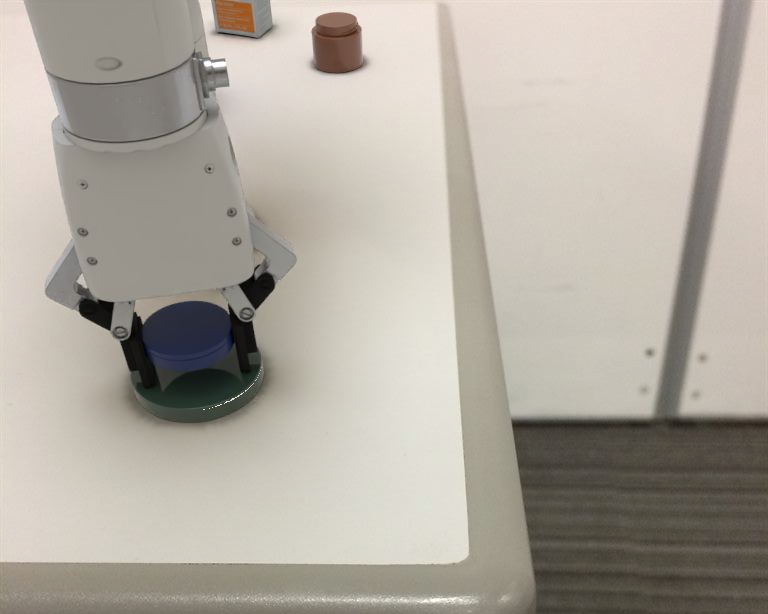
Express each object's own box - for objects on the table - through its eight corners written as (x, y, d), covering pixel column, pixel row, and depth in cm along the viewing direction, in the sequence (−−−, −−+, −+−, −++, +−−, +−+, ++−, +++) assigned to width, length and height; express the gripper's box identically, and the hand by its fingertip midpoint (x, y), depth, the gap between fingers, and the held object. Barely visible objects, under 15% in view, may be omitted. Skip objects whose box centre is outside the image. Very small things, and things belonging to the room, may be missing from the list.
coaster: (289, 381, 57) (287, 368, 56) (177, 442, 53) (173, 428, 52) (218, 323, 61) (215, 310, 60) (111, 375, 58) (106, 362, 57)
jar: (373, 63, 93) (371, 19, 90) (334, 77, 91) (332, 32, 87) (342, 49, 96) (339, 6, 92) (304, 62, 93) (300, 19, 90)
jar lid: (232, 311, 56) (229, 294, 55) (240, 363, 53) (237, 347, 52) (144, 323, 56) (139, 307, 55) (146, 377, 52) (141, 361, 51)
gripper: (283, 49, 46) (311, 317, 60) (-35, 83, 44) (69, 353, 57) (304, 104, 41) (329, 382, 55) (-52, 145, 39) (66, 424, 52)
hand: (196, 365), depth 56 cm, fingers closed on jar lid, 5 cm apart
